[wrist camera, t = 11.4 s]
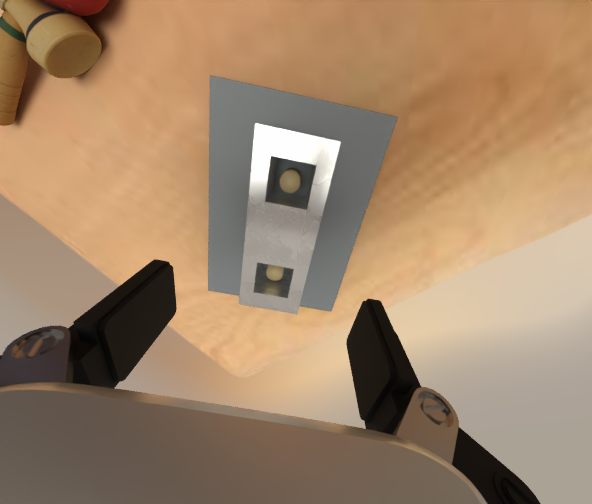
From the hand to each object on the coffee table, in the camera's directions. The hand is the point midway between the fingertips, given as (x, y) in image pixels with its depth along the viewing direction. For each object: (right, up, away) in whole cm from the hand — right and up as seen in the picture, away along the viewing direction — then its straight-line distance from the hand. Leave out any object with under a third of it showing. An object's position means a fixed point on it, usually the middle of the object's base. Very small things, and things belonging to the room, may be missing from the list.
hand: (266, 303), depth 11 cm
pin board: (0, +7, +14) cm, 15 cm away
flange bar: (0, +6, +12) cm, 14 cm away
